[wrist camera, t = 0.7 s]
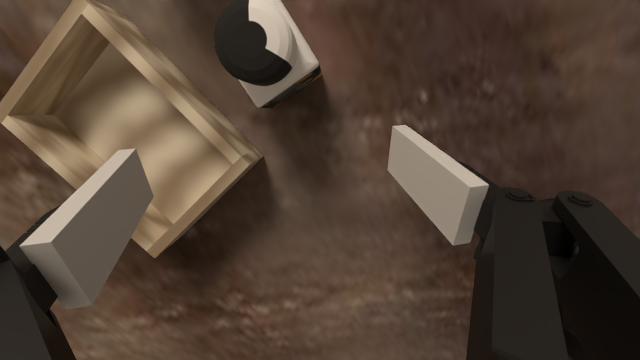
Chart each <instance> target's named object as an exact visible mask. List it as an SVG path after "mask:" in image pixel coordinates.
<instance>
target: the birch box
mask: <svg viewBox="0 0 640 360" xmlns="http://www.w3.org/2000/svg"><path fill="white" fill-rule="evenodd" d="M0 123H2V124H3V125H4V126H5V127H6V128H7V129H8V130H10V131H11V132H12V133H13V134H14V135H15V136H16V137H18V138H19V139H20V140H21V141H22V142H23V143H24V144H25V145H27V146H28V147H29V148H30V149H31V150H32V151H33V152H35V153H36V154H37V155H38V156H39V157H40V158H41V159H42V160H44V161H45V162H46V163H47V164H48V165H49V166H50V167H52V168H53V169H54V170H55V171H56V172H57V173H58V174H59V175H61V176H62V177H63V178H64V179H65V180H66V181H67V182H69V183H70V184H71V185H72V186H73V187H74V188H75V189H77V190H78V189H79V188H80V187H81V186H82V185H83V184H84V183H85V182H86V181H87V180H88V179H89V178H90V177H91V176H92V175H93V174H94V173H95V172H96V171H97V170H98V169H99V168H100V167H102V166H103V165H104V164H105V163H106V162H107V161H108V160H109V159H110V158H111V157H112V156H113V155H114V154H115V153H116V152H117V151H118V150H125V149H136V150H137V153H138V155H139V158H140V161H141V163H142V166H143V169H144V171H145V174H146V177H147V179H148V182H149V185H150V187H151V190H152V193H153V195H154V197H153V199H152V201H151V203H150V204H149V206H148V208H147V210H146V211H145V213H144V215H143V217H142V218H141V220H140V222H139V224H138V225H137V227H136V229H135V231H134V233H133V234H132V236H131V238H132V239H133V240H134V241H136V242H137V243H138V244H139V245H140V246H141V247H142V248H143V249H145V250H146V251H147V252H148V253H149V254H150V255H151V256H153V257H154V258H156V257H157V256H158V255H159V254H161V253H162V252H163V251H164V250H166V249H167V248H168V247H169V246H170V245H172V244H173V243H174V242H175V241H177V240H178V239H179V238H180V237H181V236H183V235H184V234H185V233H186V232H187V231H188V230H189V229H190V228H191V227H192V226H193V225H194V224H195V223H196V222H197V221H198V220H199V219H200V218H201V217H202V216H203V215H204V214H205V213H206V212H207V211H208V210H209V209H210V208H211V207H212V206H213V205H214V204H215V203H216V202H217V201H218V200H219V199H220V198H221V197H222V196H223V195H224V194H225V193H226V192H227V191H228V190H229V189H230V188H231V187H233V186H234V185H235V184H236V183H237V182H238V181H239V180H240V179H241V178H242V177H243V176H244V175H245V174H246V173H247V172H248V171H249V170H250V169H251V168H252V167H253V166H254V165H255V164H256V163H257V162H258V161H259V160H260V159H261V158H262V157H263V155H262V154H261V153H260V152H259V151H258V150H257V149H256V148H255V147H254V146H253V145H252V144H251V143H250V142H249V141H248V140H247V139H246V138H245V137H244V136H243V135H242V134H241V133H240V132H239V131H238V130H237V129H236V128H235V127H234V126H233V124H232V123H231V122H230V121H229V120H228V119H227V118H226V117H225V116H224V115H223V114H222V113H221V112H220V111H219V110H218V109H217V108H216V107H215V106H214V105H213V104H212V103H211V102H210V101H209V100H208V99H207V98H206V97H205V96H204V95H203V94H202V93H201V92H200V91H199V90H198V89H197V88H196V87H195V86H194V85H193V84H192V83H191V82H190V81H189V80H188V79H187V78H186V77H185V76H184V75H183V74H182V72H181V71H180V70H179V69H178V68H177V67H176V66H175V65H174V64H173V63H172V62H171V61H170V60H169V59H168V58H167V57H166V56H165V55H164V54H163V53H162V52H161V51H160V50H159V49H158V48H157V47H156V46H155V45H154V44H153V43H152V42H151V41H150V40H149V39H148V38H147V37H146V36H145V35H144V34H143V33H142V32H141V31H140V30H139V29H138V28H137V27H136V26H135V25H134V24H133V23H132V22H131V21H130V19H129V18H128V17H127V16H126V15H124V14H122V13H120V12H118V11H116V10H113V9H111V8H109V7H107V6H105V5H103V4H101V3H98V2H96V1H94V0H73V1H72V3H71V4H70V5H69V7H68V8H67V10H66V11H65V13H64V14H63V15H62V17H61V18H60V20H59V21H58V22H57V24H56V25H55V27H54V28H53V29H52V31H51V32H50V34H49V35H48V36H47V38H46V39H45V41H44V42H43V43H42V45H41V46H40V48H39V49H38V50H37V52H36V53H35V55H34V56H33V58H32V59H31V60H30V62H29V63H28V65H27V66H26V67H25V69H24V70H23V72H22V73H21V74H20V76H19V77H18V79H17V80H16V81H15V83H14V84H13V86H12V87H11V88H10V90H9V91H8V93H7V94H6V95H5V97H4V98H3V100H2V101H1V102H0Z"/></svg>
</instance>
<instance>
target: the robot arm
mask: <svg viewBox="0 0 640 360" xmlns="http://www.w3.org/2000/svg"><path fill="white" fill-rule="evenodd" d="M388 171H389V172H390V173H391V175H392V176H393V177H394V178H395V179H396V180H397V181H398V183H399V184H400V185H401V186H402V187H403V188H404V190H405V191H406V192H407V193H408V194H409V195H410V196H411V198H412V199H413V200H414V201H415V202H416V203H417V205H418V206H419V207H420V208H421V209H422V210H423V211H424V213H425V214H426V215H427V216H428V217H429V218H430V220H431V221H432V222H433V223H434V224H435V225H436V226H437V228H438V229H439V230H440V231H441V232H442V233H443V235H444V236H445V237H446V238H447V239H448V240H449V241H450V243H451V244H452V245H459V244H465V243H470V241H471V238H472V235H473V232H474V231H475V232H476V233H477V234H478V235H479V236H480V240H479V243H478V246H477V249H476V251H475V254H474V257H473V258H474V259H476V269H475V279H474V289H473V298H472V308H471V318H470V328H469V337H468V347H467V357H466V360H640V239H639V238H638V237H637V236H636V235H634V234H633V233H632V232H631V231H630V230H629V229H628V228H627V227H626V226H625V225H624V224H623V223H622V222H621V221H620V220H619V219H618V218H617V217H616V216H615V215H614V214H613V213H612V212H611V211H610V210H609V209H608V208H607V207H606V206H605V205H604V204H603V203H601V202H600V201H599V200H597V199H595V198H593V197H591V196H590V195H588V194H585V193H584V194H583V193H582V192H574V191H561V192H559V193H558V194H557V196H556V198H553V199H546V200H542V201H538V200H537V199H536V197H534V196H533V195H532V194H530V193H528V192H526V191H523V190H520V189H516V188H509V187H508V188H500V187H499V186H497V185H496V184H494V183H493V182H491V181H490V180H488V179H487V178H486V177H484V176H483V175H482V176H481V174H480V173H478V172H477V171H475V170H474V169H473V168H471V167H470V166H468V165H467V164H464V163H462V162H459V161H457V160H454V159H452V158H451V157H450V156H448V155H447V154H445V153H444V152H443V151H441V150H440V149H438V148H437V147H436V146H434V145H433V144H431V143H430V142H429V141H427V140H426V139H424V138H423V137H422V136H420V135H419V134H417V133H416V132H415V131H413V130H412V129H410V128H409V127H408V126H406V125H400V126H393V127H392V136H391V145H390V153H389V162H388ZM153 197H154V195H153V193H152V190H151V187H150V185H149V182H148V179H147V177H146V174H145V171H144V169H143V166H142V163H141V161H140V158H139V155H138V153H137V150H136V149H125V150H118V151H117V152H116V153H115V154H114V155H113V156H112V157H111V158H110V159H109V160H108V161H107V162H106V163H105V164H104V165H103V166H102V167H100V168H99V169H98V170H97V171H96V172H95V173H94V174H93V175H92V176H91V177H90V178H89V179H88V180H87V181H86V182H85V183H84V184H83V185H82V186H81V187H80V188H79V189H78V190H77V191H76V192H75V193H74V194H73V195H72V196H71V197H70V198H68V199H67V200H66V201H65V202H64V203H63V204H62V205H59V206H58V207H56V208H54V209H53V210H51V211H49V212H48V213H46V214H44V215H43V216H42V217H41V218H40V219H39V220H38V221H37V222H36V223H35V225H33V226H32V227H31V228H29V229H28V230H27V233H24V234H23V235H22V236H21V237H20V238H19V239H18V240H17V241H16V242H14V243H13V244H12V245H11V246H10V247H9V248H8V249H7V250H6V251H4V250H3V248H2V247H1V246H0V360H76V358H75V356H74V354H73V352H72V350H71V348H70V345H69V343H68V341H67V339H66V337H65V335H64V333H63V331H62V329H61V327H60V325H59V323H58V321H57V318H56V316H55V315H54V313H53V312H52V311H51V310H50V307H51V306H52V304H53V303H54V301H55V300H56V299H57V298H58V299H59V300H60V302H61V303H62V305H63V306H64V307H65V309H72V308H78V307H84V306H90V305H93V303H94V301H95V300H96V298H97V296H98V294H99V293H100V291H101V289H102V287H103V286H104V284H105V282H106V280H107V278H108V277H109V275H110V273H111V271H112V270H113V268H114V266H115V264H116V263H117V261H118V259H119V257H120V256H121V254H122V252H123V250H124V248H125V247H126V245H127V243H128V241H129V240H130V238H131V236H132V234H133V233H134V231H135V229H136V227H137V225H138V224H139V222H140V220H141V218H142V217H143V215H144V213H145V211H146V210H147V208H148V206H149V204H150V203H151V201H152V199H153Z"/></svg>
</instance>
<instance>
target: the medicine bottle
mask: <svg viewBox="0 0 640 360" xmlns="http://www.w3.org/2000/svg"><path fill="white" fill-rule="evenodd" d="M214 44H215V49H216V53H217V56H218V58H219V60H220V62H221V64H222V65H223V66H224V68H225V69H226V70H227V71H228V72H229V73H230V74H231V75H232V76H234V77H235V78H237V79H238V80H239V81H240V83H241V84H242V86H243V87H244V89H245V90H246V92H247V93H248V95H249V96H250V98H251V99H252V101H253V102H254V104H255V105H256V106H257V107H260V108H275V107H277V106H278V105H280V104H281V103H282V102H284V101H285V100H287V99H288V98H290V97H291V96H292V95H294V94H295V93H297V92H298V91H300V90H301V89H303V88H304V87H305V86H307V85H308V84H310V83H311V82H313V81H314V80H316V79H317V78H318V77H320V76H321V74H322V72H321V69H320V66H319V63H318V61H317V59H316V57H315V56H314V54H313V52H312V51H311V49H310V47H309V46H308V44H307V43H306V41H305V39H304V38H303V36H302V34H301V33H300V31H299V29H298V28H297V26H296V25H295V23H294V21H293V20H292V18H291V16H290V15H289V13H288V11H287V10H286V8H285V7H284V5H283V3H282V2H281V0H237V1H235V2H233V3H232V4H230V5H229V6H228V7H227V8H226V9H225V10H224V11H223V13H222V14H221V16H220V17H219V19H218V22H217V24H216V28H215V34H214Z"/></svg>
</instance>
